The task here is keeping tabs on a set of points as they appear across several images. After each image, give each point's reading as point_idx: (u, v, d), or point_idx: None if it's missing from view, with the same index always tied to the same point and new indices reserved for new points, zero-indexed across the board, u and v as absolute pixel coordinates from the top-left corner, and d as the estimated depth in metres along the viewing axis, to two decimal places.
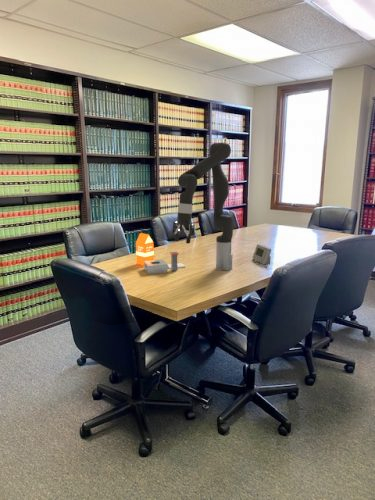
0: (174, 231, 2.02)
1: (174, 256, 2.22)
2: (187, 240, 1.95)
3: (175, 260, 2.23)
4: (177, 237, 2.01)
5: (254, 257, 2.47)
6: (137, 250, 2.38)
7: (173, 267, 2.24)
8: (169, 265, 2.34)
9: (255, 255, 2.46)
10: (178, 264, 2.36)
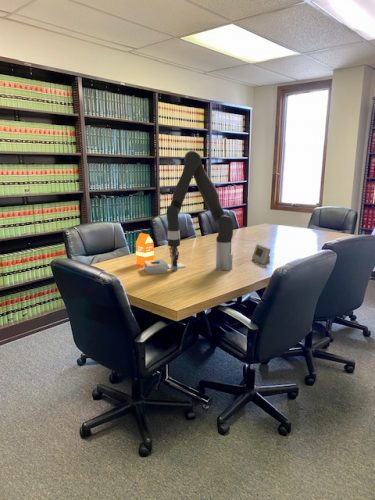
0: None
1: None
2: (173, 263, 2.22)
3: None
4: None
5: (254, 257, 2.47)
6: (137, 250, 2.38)
7: (173, 267, 2.24)
8: (169, 265, 2.34)
9: (255, 255, 2.47)
10: (178, 264, 2.36)
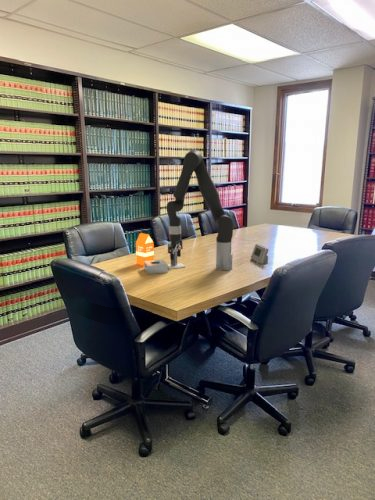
0: None
1: (172, 251, 2.31)
2: None
3: None
4: (178, 253, 2.36)
5: (252, 257, 2.48)
6: (137, 250, 2.38)
7: (171, 262, 2.33)
8: (169, 265, 2.34)
9: (253, 255, 2.47)
10: (178, 264, 2.36)
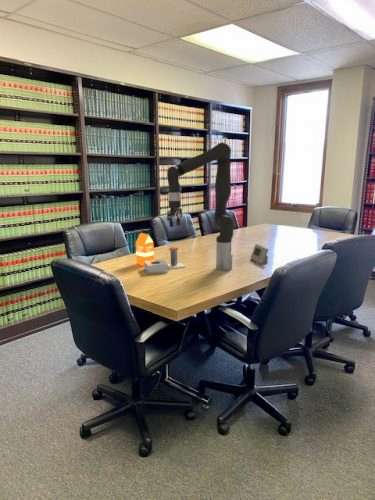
0: None
1: (172, 251, 2.31)
2: None
3: (173, 255, 2.31)
4: (178, 222, 2.31)
5: (252, 257, 2.48)
6: (137, 250, 2.38)
7: (171, 262, 2.33)
8: (169, 265, 2.34)
9: (253, 255, 2.48)
10: (178, 264, 2.36)
